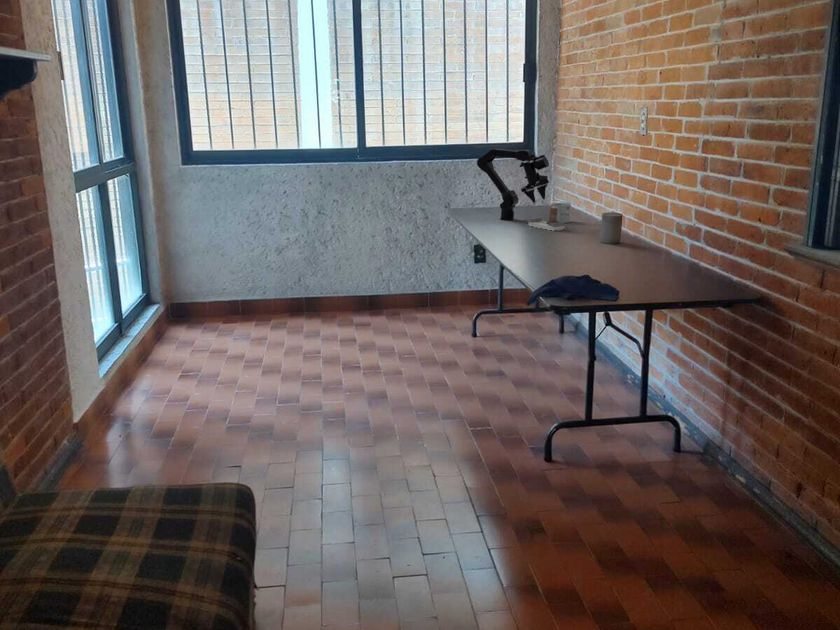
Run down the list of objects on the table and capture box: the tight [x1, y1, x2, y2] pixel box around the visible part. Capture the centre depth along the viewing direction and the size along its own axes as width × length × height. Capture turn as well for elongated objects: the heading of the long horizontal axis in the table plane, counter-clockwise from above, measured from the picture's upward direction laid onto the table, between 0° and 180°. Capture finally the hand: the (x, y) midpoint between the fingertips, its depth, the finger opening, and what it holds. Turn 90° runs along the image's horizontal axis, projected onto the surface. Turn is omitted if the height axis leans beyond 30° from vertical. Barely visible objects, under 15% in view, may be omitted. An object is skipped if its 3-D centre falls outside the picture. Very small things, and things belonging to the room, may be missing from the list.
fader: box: [546, 203, 558, 225], centre depth 392 cm, size 4×5×11 cm
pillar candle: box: [599, 211, 623, 245], centre depth 362 cm, size 10×10×15 cm
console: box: [528, 216, 566, 232], centre depth 396 cm, size 17×9×4 cm, turn 39°
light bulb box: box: [550, 200, 572, 223], centre depth 416 cm, size 11×7×11 cm, turn 84°
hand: (539, 200), depth 406 cm, fingers open, 9 cm apart
